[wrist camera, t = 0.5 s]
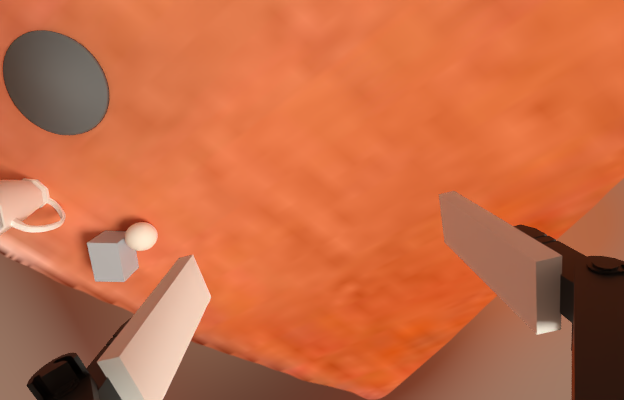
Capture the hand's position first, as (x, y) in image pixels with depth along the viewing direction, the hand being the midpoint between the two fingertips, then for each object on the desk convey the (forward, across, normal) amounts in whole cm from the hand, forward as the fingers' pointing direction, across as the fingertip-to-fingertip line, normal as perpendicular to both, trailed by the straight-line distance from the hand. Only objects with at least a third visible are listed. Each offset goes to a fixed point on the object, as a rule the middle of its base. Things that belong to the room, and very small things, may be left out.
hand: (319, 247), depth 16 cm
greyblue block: (+27, -31, -6) cm, 41 cm away
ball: (+27, -26, -5) cm, 37 cm away
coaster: (+27, -28, +16) cm, 42 cm away
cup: (+27, -37, +4) cm, 46 cm away
